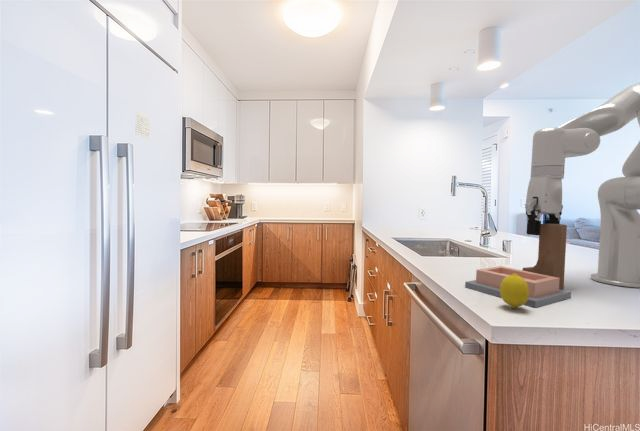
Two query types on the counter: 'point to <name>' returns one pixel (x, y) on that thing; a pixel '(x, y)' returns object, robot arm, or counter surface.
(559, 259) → the wooden block
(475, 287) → the baseplate
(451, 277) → the counter surface
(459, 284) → the counter surface
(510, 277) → the lemon
